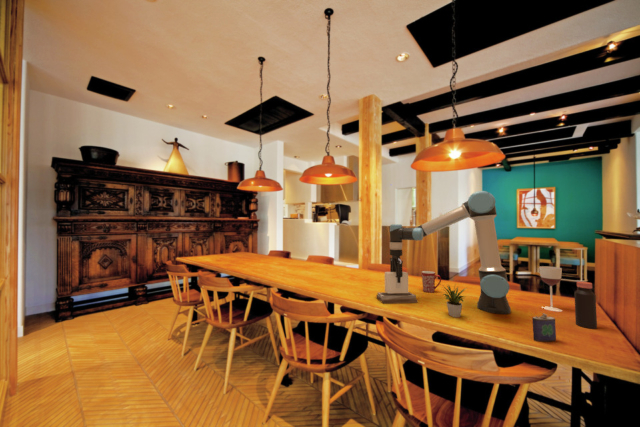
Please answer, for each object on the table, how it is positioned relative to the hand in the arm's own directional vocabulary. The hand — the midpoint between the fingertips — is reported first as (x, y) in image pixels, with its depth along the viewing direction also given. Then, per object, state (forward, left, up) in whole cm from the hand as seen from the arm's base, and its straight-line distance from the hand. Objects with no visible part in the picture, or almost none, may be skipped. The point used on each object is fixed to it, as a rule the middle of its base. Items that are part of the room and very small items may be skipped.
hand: (396, 286), depth 153 cm
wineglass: (-23, -81, -8) cm, 85 cm away
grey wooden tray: (0, 0, -8) cm, 8 cm away
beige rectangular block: (0, 0, -3) cm, 3 cm away
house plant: (-27, -18, -8) cm, 34 cm away
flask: (-57, -38, -9) cm, 69 cm away
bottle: (-46, -72, -8) cm, 86 cm away
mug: (+17, -33, -9) cm, 38 cm away
